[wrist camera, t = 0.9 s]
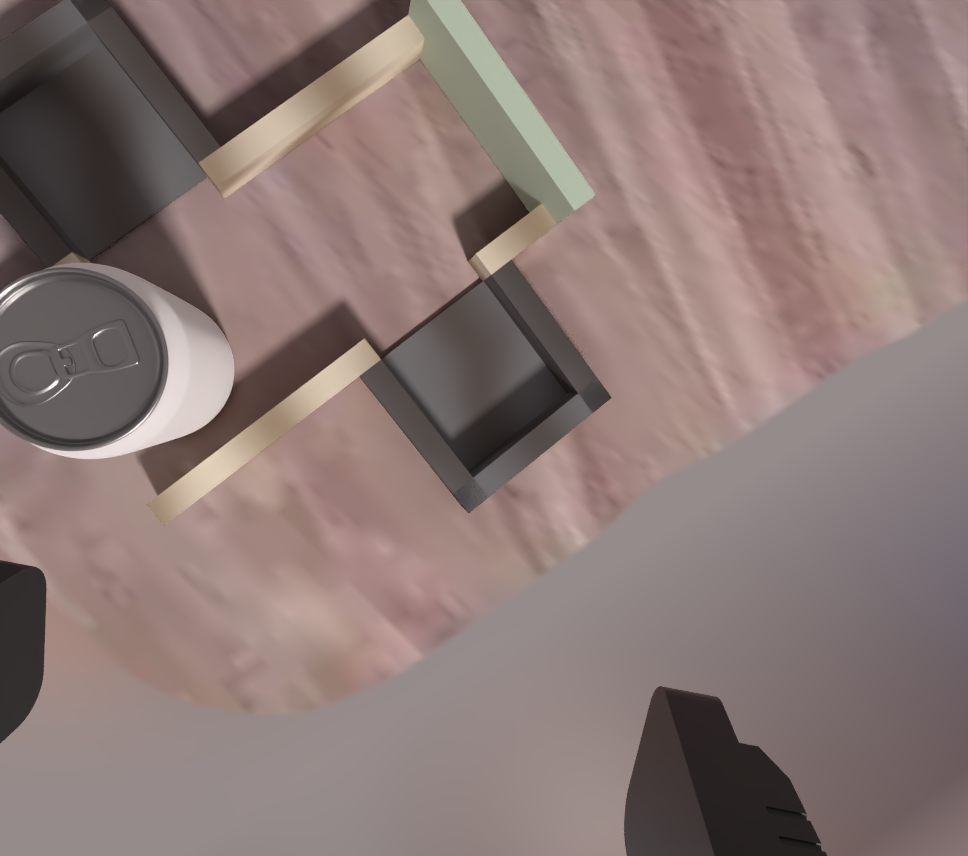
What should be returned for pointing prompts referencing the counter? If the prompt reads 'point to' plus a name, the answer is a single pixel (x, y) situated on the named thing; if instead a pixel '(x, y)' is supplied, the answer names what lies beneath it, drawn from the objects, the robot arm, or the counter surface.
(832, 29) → the counter surface
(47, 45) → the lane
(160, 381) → the can
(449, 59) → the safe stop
